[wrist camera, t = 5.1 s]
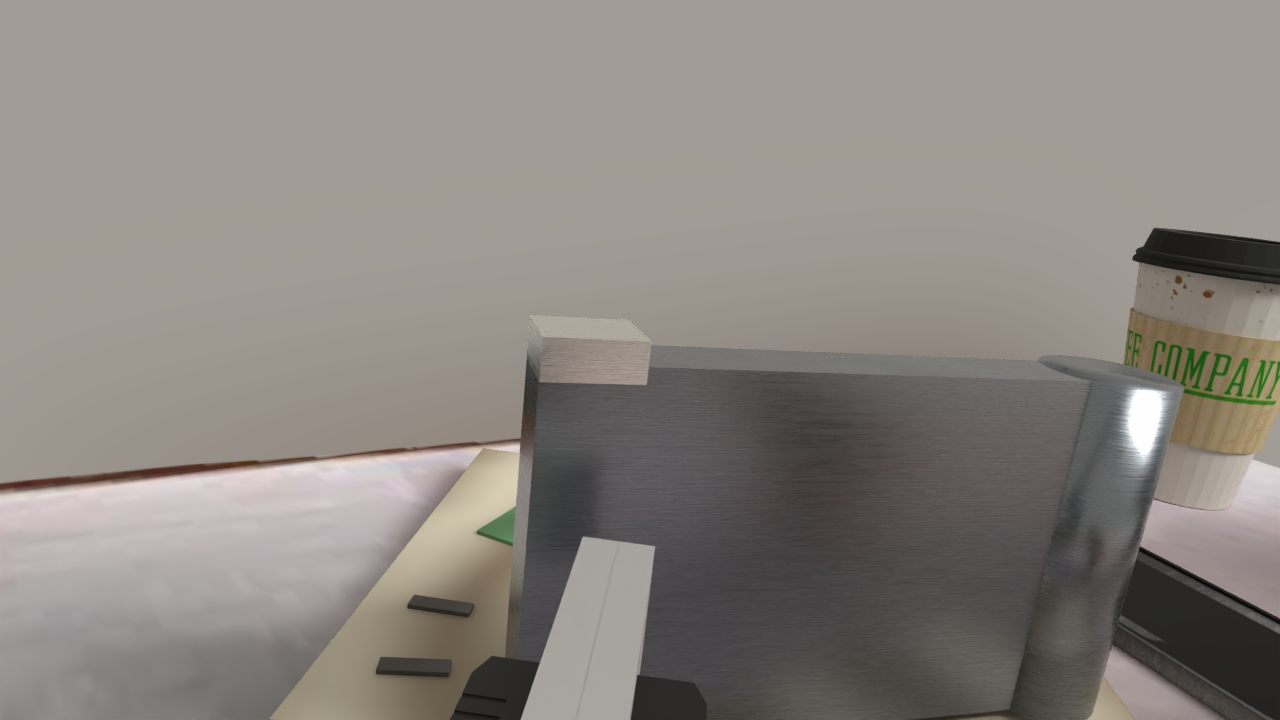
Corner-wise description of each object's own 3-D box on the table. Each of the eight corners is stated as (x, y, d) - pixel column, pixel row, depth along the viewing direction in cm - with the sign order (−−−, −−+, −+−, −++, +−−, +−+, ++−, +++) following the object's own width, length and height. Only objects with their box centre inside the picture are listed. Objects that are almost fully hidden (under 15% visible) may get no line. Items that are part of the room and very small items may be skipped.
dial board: (977, 543, 39) (984, 511, 39) (1229, 921, 20) (1249, 866, 20) (481, 476, 41) (483, 445, 40) (269, 768, 21) (268, 713, 21)
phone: (1082, 516, 42) (1447, 704, 29) (1077, 536, 42) (1436, 732, 29) (961, 529, 39) (1305, 744, 26) (957, 550, 39) (1294, 775, 26)
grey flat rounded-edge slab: (1036, 646, 28) (1115, 338, 25) (1122, 718, 24) (1223, 371, 22) (498, 685, 23) (525, 308, 20) (513, 782, 19) (547, 346, 17)
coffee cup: (1044, 462, 52) (1102, 222, 48) (1143, 452, 56) (1203, 231, 53) (1203, 533, 44) (1289, 248, 40) (1305, 514, 48) (1391, 256, 44)
